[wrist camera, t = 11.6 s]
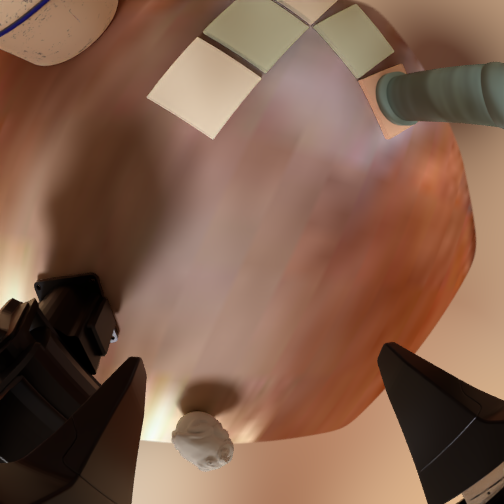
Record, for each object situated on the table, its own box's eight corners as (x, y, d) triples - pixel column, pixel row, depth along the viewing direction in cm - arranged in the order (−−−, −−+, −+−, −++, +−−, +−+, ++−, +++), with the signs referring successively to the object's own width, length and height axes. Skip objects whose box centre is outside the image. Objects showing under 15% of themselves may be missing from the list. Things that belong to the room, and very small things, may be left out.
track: (151, 147, 17) (150, 147, 16) (152, -40, 10) (151, -44, 10) (422, 143, 21) (426, 144, 20) (399, -7, 14) (403, -9, 14)
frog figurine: (202, 435, 29) (209, 481, 22) (158, 414, 26) (158, 465, 19) (238, 415, 28) (251, 463, 22) (194, 391, 25) (200, 447, 19)
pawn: (370, 109, 18) (514, 108, 6) (381, 63, 17) (512, 39, 5) (410, 134, 20) (540, 155, 8) (420, 90, 18) (542, 91, 6)
